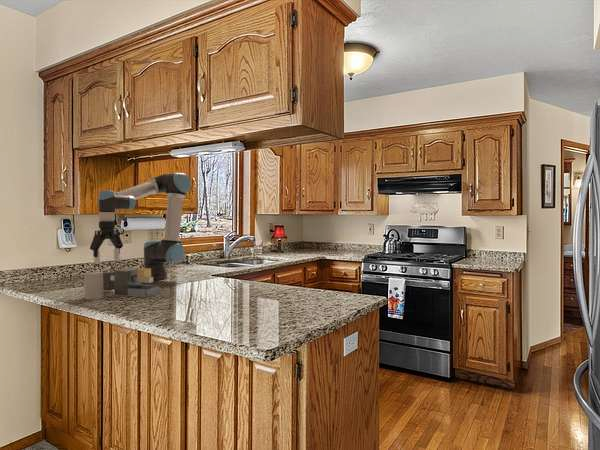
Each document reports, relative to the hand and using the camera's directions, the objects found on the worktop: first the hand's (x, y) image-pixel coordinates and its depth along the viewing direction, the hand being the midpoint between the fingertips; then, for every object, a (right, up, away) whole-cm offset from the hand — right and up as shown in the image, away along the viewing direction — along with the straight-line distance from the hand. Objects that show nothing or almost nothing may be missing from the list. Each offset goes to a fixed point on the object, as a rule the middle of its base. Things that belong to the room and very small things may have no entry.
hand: (107, 262), depth 217 cm
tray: (+21, -15, -6) cm, 27 cm away
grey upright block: (0, -16, -14) cm, 21 cm away
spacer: (+22, -7, -7) cm, 23 cm away
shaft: (+12, -14, -3) cm, 19 cm away
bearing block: (+12, -15, -3) cm, 20 cm away
